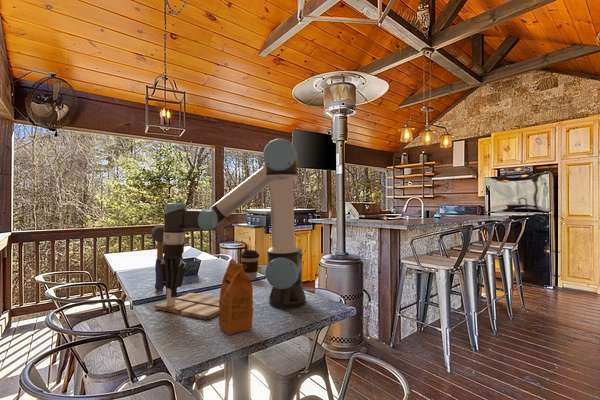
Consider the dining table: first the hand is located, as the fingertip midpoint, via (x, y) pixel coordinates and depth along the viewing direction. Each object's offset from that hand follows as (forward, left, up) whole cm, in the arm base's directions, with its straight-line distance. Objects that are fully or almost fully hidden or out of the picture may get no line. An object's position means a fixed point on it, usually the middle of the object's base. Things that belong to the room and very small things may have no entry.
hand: (170, 305), depth 119 cm
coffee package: (-31, +3, -2) cm, 32 cm away
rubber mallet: (+25, -17, -2) cm, 30 cm away
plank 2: (-13, -2, -2) cm, 14 cm away
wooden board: (-7, -12, -2) cm, 14 cm away
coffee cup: (-1, -53, -2) cm, 53 cm away
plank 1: (0, -2, -1) cm, 3 cm away
